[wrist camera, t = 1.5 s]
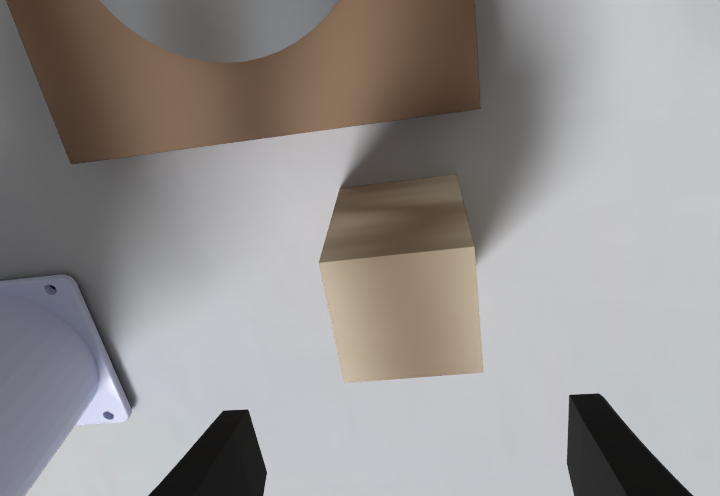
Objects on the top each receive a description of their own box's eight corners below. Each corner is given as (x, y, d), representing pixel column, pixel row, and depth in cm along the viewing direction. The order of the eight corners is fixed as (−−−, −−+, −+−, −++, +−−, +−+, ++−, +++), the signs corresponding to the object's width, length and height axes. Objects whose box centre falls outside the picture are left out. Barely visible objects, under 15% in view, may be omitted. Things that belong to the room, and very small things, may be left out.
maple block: (357, 287, 23) (344, 382, 18) (339, 188, 21) (318, 262, 16) (464, 276, 23) (483, 372, 17) (456, 173, 21) (474, 246, 16)
